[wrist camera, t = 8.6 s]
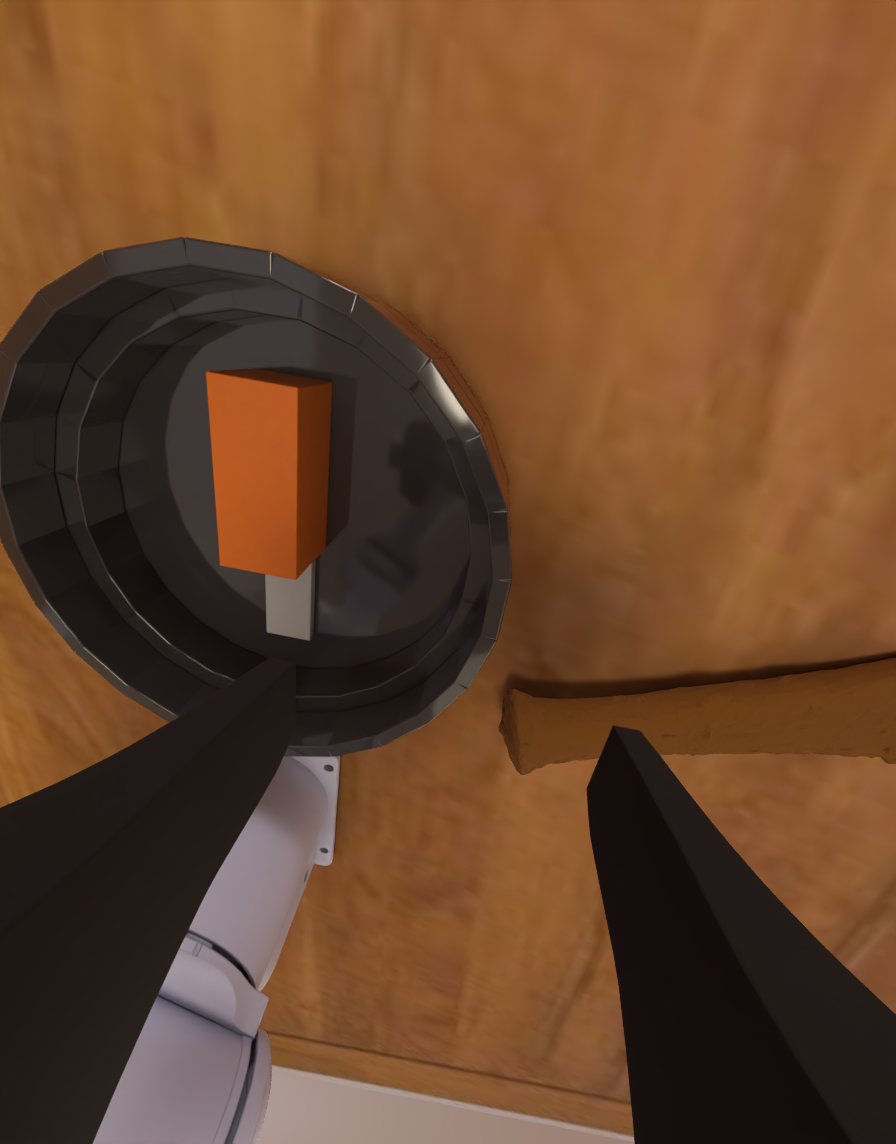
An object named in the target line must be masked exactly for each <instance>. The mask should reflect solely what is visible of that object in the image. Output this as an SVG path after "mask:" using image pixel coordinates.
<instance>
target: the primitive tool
mask: <svg viewBox="0 0 896 1144" xmlns="http://www.w3.org/2000/svg"><path fill="white" fill-rule="evenodd" d="M502 711H503V716H502V720H501V723H500V725H499V731H500V732H501V734H502V735H503V736H504V741H505V744H506V746H507V748H508V752H509V757H510V759H511V761H512V762H513V764H514V766H515V768H516V770H517V772H519V773H520V774H521V775H525V774H528V773H530V772H532V771H533V770H534V769H536V768H542V767H543V766H545V765H547V764H550V763H554V764H558V763H565V762H569V761H573V760H588V759H596V758H600V755H601V753H602V750H603V748H604V746H605V743H606V741H607V738H608V736H609V733H610V731H611V729H612V726H613V725H614V726H619V727H624V728H630V729H635V730H640V731H641V732H642V733H643V734H644V736H645V737H646V738H647V739H648V741H649V742H650V743H651V744H652V746H653V747H654V748H655V750H656V751H657V752H658V754H659V755H672V754H680V755H686V754H690V755H692V756H693V755H707V754H719V753H721V754H758V753H774V754H783V753H793V754H809V753H814V754H824V755H841V756H847V757H858V756H868V757H870V758H873V757H881V758H882V759H883V760H884V761H885V762H886V763H889V764H896V658H890V659H886V660H881V661H877V662H872V663H862V664H857V665H853V666H850V667H845V668H840V669H831V670H820V671H814V672H808V673H802V674H794V675H785V676H780V677H774V678H768V679H762V680H741V681H736V682H729V683H720V684H711V685H702V686H694V687H678V688H674V689H669V690H661V691H654V692H650V693H644V694H636V695H617V696H609V697H596V698H577V699H555V698H552V699H549V698H544V697H538V698H535V697H532V696H530V695H529V694H527V693H523V692H520V691H518V690H516V689H511V690H509V691H508V693H507V696H506V698H505V699H504V701H503V709H502Z"/></svg>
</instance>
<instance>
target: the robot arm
mask: <svg viewBox="0 0 896 1144" xmlns="http://www.w3.org/2000/svg"><path fill="white" fill-rule="evenodd" d="M295 694H296V663H294V662H289V661H284V660H279V659H274V658H269V659H267V660H265V661H264V662H262V663H261V664H259V665H258V666H256V667H255V668H253V669H252V670H250V671H249V672H247V673H246V674H244V675H243V676H241V677H240V678H238V679H237V680H235V681H234V682H232V683H231V684H229V685H228V686H226V687H225V688H223V689H222V690H220V691H219V692H217V693H216V694H214V695H213V696H211V697H209V698H208V699H206V700H205V701H203V702H202V703H200V704H199V705H197V706H195V707H194V708H192V709H191V710H189V711H188V712H186V713H185V714H183V715H181V716H180V717H178V718H177V719H175V720H173V721H171V722H170V723H168V724H166V725H165V726H163V727H161V728H160V729H158V730H156V731H155V732H153V733H151V734H149V735H148V736H146V737H144V738H143V739H141V740H139V741H138V742H136V743H134V744H132V745H130V746H129V747H127V748H125V749H123V750H121V751H119V752H118V753H116V754H114V755H112V756H110V757H108V758H106V759H104V760H102V761H100V762H98V763H96V764H94V765H92V766H90V767H88V768H86V769H84V770H82V771H81V772H79V773H77V774H75V775H73V776H70V777H68V778H66V779H64V780H62V781H60V782H58V783H56V784H54V785H51V786H49V787H47V788H44V789H42V790H40V791H38V792H35V793H33V794H31V795H29V796H26V797H24V798H22V799H20V800H17V801H15V802H13V803H11V804H8V805H6V806H4V807H2V808H0V1144H257V1142H258V1139H259V1135H260V1132H261V1129H262V1124H263V1121H264V1117H265V1113H266V1109H267V1104H268V1099H269V1094H270V1087H271V1076H272V1067H271V1059H270V1052H271V1047H270V1041H269V1036H268V1035H267V1033H266V1032H265V1031H264V1030H262V1029H260V1028H258V1027H259V1025H260V1022H261V1019H262V1016H263V1014H264V1011H265V1008H266V1006H267V1003H268V1000H269V998H268V996H266V995H264V994H263V993H261V990H262V989H263V988H264V986H265V985H266V983H267V982H268V980H269V978H270V976H271V975H272V972H273V970H274V968H275V966H276V963H277V961H278V958H279V955H280V953H281V950H282V947H283V945H284V942H285V939H286V937H287V934H288V931H289V929H290V926H291V923H292V921H293V918H294V915H295V913H296V910H297V908H298V905H299V902H300V900H301V897H302V894H303V892H304V889H305V886H306V884H307V881H308V878H309V876H310V873H311V870H312V868H313V865H314V864H319V865H324V866H327V865H330V864H331V863H332V860H333V857H334V842H335V828H336V814H337V799H338V785H339V771H340V755H339V756H334V757H291V756H284V755H285V753H286V750H287V748H288V746H289V743H290V741H291V739H292V736H293V734H294V732H295ZM330 765H331V766H330ZM587 801H588V816H589V827H590V837H591V843H592V848H593V853H594V859H595V864H596V869H597V874H598V879H599V884H600V889H601V894H602V899H603V904H604V909H605V914H606V919H607V924H608V929H609V934H610V939H611V944H612V949H613V954H614V960H615V966H616V972H617V978H618V984H619V992H620V1001H621V1010H622V1019H623V1027H624V1036H625V1045H626V1054H627V1065H628V1075H629V1085H630V1096H631V1106H632V1116H633V1128H634V1141H635V1144H896V1014H894V1013H893V1012H892V1011H891V1010H890V1009H889V1008H888V1007H887V1006H886V1005H885V1004H884V1003H883V1002H882V1001H881V1000H879V999H878V998H877V997H876V996H875V995H874V994H873V993H872V992H871V991H870V990H869V989H868V988H867V987H866V986H865V985H864V984H863V983H861V982H860V981H859V980H858V979H857V978H856V977H855V976H854V975H853V974H852V973H851V972H850V971H849V970H848V969H847V968H846V967H845V966H843V965H842V964H841V963H840V962H839V961H838V960H837V959H836V958H835V957H834V956H833V955H832V954H831V953H830V952H829V951H828V950H827V949H826V948H825V947H824V946H823V945H822V944H821V943H820V942H819V941H818V940H817V939H816V938H815V937H814V936H813V935H812V934H811V933H810V932H809V930H808V929H807V928H806V927H805V926H804V925H803V924H802V923H801V922H800V921H799V920H798V919H797V918H796V917H795V916H794V915H793V914H792V913H791V912H790V911H789V910H788V909H787V908H786V907H785V906H784V905H783V903H782V902H781V901H780V900H779V899H778V898H777V897H776V896H775V895H774V894H773V893H772V892H771V891H770V889H769V888H768V887H767V886H766V885H765V884H764V883H763V882H762V881H761V880H760V878H759V877H758V876H757V875H756V874H755V873H754V872H753V870H752V869H751V868H750V867H749V866H748V865H747V864H746V862H745V861H744V860H743V859H742V858H741V857H740V855H739V854H738V853H737V852H736V851H735V850H734V849H733V847H732V846H731V845H730V844H729V843H728V841H727V840H726V839H725V838H724V837H723V835H722V834H721V833H720V832H719V831H718V829H717V828H716V827H715V826H714V824H713V823H712V822H711V821H710V820H709V818H708V817H707V816H706V815H705V813H704V812H703V811H702V810H701V808H700V807H699V806H698V805H697V803H696V802H695V801H694V799H693V798H692V797H691V796H690V794H689V793H688V792H687V790H686V789H685V788H684V787H683V785H682V784H681V783H680V781H679V780H678V779H677V777H676V776H675V775H674V773H673V772H672V771H671V770H670V768H669V767H668V766H667V764H666V763H665V762H664V760H663V759H662V758H661V756H660V755H659V754H658V752H657V751H656V750H655V748H654V747H653V746H652V744H651V743H650V742H649V741H648V739H647V738H646V737H645V736H644V734H643V733H642V732H641V731H640V730H635V729H630V728H624V727H619V726H614V725H613V726H612V729H611V731H610V733H609V736H608V738H607V741H606V743H605V746H604V748H603V750H602V753H601V755H600V758H599V760H598V762H597V765H596V767H595V770H594V772H593V775H592V777H591V779H590V782H589V784H588V787H587Z"/></svg>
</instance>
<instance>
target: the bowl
mask: <svg viewBox="0 0 896 1144" xmlns="http://www.w3.org/2000/svg"><path fill="white" fill-rule="evenodd" d="M253 368H257V369H263V370H268V371H274V372H280V373H285V374H291V375H297V376H302V377H308V378H314V379H319V380H325V381H331V382H332V401H331V427H330V452H329V478H328V504H327V529H326V548H325V549H324V550H323V552H322V553H321V554H320V555H319V556H318V557H317V558H316V570H315V604H314V635H313V637H312V638H311V640H309V641H308V640H303V639H298V638H293V637H288V636H283V635H278V634H273V633H268V632H267V625H266V586H265V574H262V573H256V572H251V571H246V570H241V569H236V568H230V567H225V566H221V565H220V559H219V545H218V531H217V518H216V504H215V490H214V477H213V463H212V449H211V436H210V422H209V408H208V395H207V381H206V372H207V371H219V370H236V369H253ZM0 539H1V542H2V544H4V545H3V547H4V549H5V551H6V552H7V554H8V556H9V558H10V560H11V562H12V563H13V565H14V567H15V569H16V571H17V572H18V574H19V576H20V578H21V580H22V582H23V583H24V585H25V587H26V589H27V591H28V593H29V594H30V596H31V598H32V600H33V601H34V602H35V605H36V606H37V607H38V608H39V609H40V611H41V612H42V613H43V614H44V616H45V617H46V618H47V619H48V620H49V622H50V623H51V624H52V625H53V627H54V628H55V629H56V630H57V631H58V633H59V634H60V635H61V636H62V638H63V639H64V640H65V641H66V642H67V644H68V645H69V646H70V647H71V649H72V650H73V651H76V654H77V655H79V656H80V657H81V658H82V659H83V660H84V661H85V662H87V663H88V664H89V665H90V666H91V667H92V668H94V669H95V670H96V671H97V672H98V673H99V674H100V675H102V676H103V677H104V678H105V679H106V680H107V681H109V682H110V683H111V684H112V685H113V686H114V687H115V688H117V689H118V690H119V691H120V692H122V694H124V695H126V696H127V697H129V698H131V699H132V700H134V701H135V702H137V703H139V704H140V705H142V706H144V707H145V708H147V709H149V710H150V711H152V712H153V713H155V714H157V715H158V716H160V717H162V718H163V719H165V720H167V721H168V722H171V721H173V720H175V719H177V718H178V717H180V716H181V715H183V714H185V713H186V712H188V711H189V710H191V709H192V708H194V707H195V706H197V705H199V704H200V703H202V702H203V701H205V700H206V699H208V698H209V697H211V696H213V695H214V694H216V693H217V692H219V691H220V690H222V689H223V688H225V687H226V686H228V685H229V684H231V683H232V682H234V681H235V680H237V679H238V678H240V677H241V676H243V675H244V674H246V673H247V672H249V671H250V670H252V669H253V668H255V667H256V666H258V665H259V664H261V663H262V662H264V661H265V660H267V659H269V658H274V659H279V660H284V661H289V662H294V663H296V694H295V732H294V734H293V736H292V739H291V741H290V743H289V746H288V748H287V750H286V753H285V755H284V756H291V757H334V756H339V755H344V754H349V753H354V752H358V751H363V750H368V749H373V748H377V747H382V746H384V745H386V744H388V743H390V742H392V741H394V740H396V739H398V738H401V737H403V736H405V735H407V734H409V733H411V732H413V731H415V730H417V729H419V728H421V727H423V726H425V725H427V724H428V723H430V722H431V721H432V720H433V719H435V718H436V717H437V716H438V715H439V714H440V713H441V712H442V711H444V710H445V709H446V708H447V707H448V706H449V705H450V704H451V703H452V702H454V701H455V700H456V699H457V698H458V697H459V696H460V695H461V694H463V693H464V692H465V691H466V690H467V688H469V687H470V685H471V683H472V682H473V680H474V678H475V677H476V675H477V673H478V672H479V670H480V668H481V667H482V665H483V663H484V662H485V660H486V658H487V657H488V655H489V653H490V652H491V650H492V648H493V647H494V645H495V643H496V642H497V639H498V636H499V631H500V627H501V623H502V619H503V615H504V611H505V607H506V603H507V598H508V594H509V590H510V586H511V582H512V559H511V526H510V508H509V490H508V478H507V473H506V470H505V467H504V464H503V461H502V458H501V455H500V452H499V449H498V446H497V443H496V440H495V437H494V434H493V431H492V428H491V425H490V422H489V419H488V417H487V416H486V413H485V411H484V410H483V408H482V407H481V405H480V404H479V402H478V401H477V399H476V398H475V396H474V395H473V393H472V392H471V390H470V389H469V387H468V385H467V384H466V382H465V381H464V379H463V378H462V376H461V375H460V373H459V372H458V370H457V369H456V367H455V366H454V364H453V363H452V361H451V360H450V359H449V358H448V356H447V355H446V354H445V353H444V352H443V351H442V350H441V349H439V348H438V347H437V346H436V345H435V344H434V343H433V342H432V341H430V340H429V339H428V338H427V337H426V336H425V335H424V334H423V333H422V332H420V331H419V330H418V329H417V328H416V327H415V326H414V325H413V324H411V323H410V322H409V321H408V320H407V319H406V318H405V317H404V316H402V315H401V314H400V313H399V312H398V311H397V310H396V309H393V308H392V307H391V306H389V305H387V304H385V303H383V302H381V301H379V300H377V299H375V298H373V297H371V296H369V295H367V294H365V293H363V292H360V291H358V290H356V289H354V288H352V287H350V286H348V285H346V284H344V283H342V282H340V281H338V280H336V279H334V278H332V277H330V276H328V275H325V274H323V273H321V272H319V271H316V270H314V269H312V268H309V267H307V266H305V265H303V264H300V263H298V262H296V261H294V260H291V259H289V258H287V257H284V256H282V255H280V254H278V253H274V252H272V251H266V250H260V249H254V248H248V247H242V246H236V245H230V244H224V243H218V242H212V241H206V240H200V239H194V238H188V237H187V238H183V237H179V238H173V239H168V240H162V241H156V242H151V243H145V244H139V245H133V246H128V247H122V248H116V249H110V250H105V251H103V252H100V253H99V254H97V255H95V256H94V257H92V258H91V259H89V260H87V261H86V262H84V263H83V264H81V265H79V266H78V267H76V268H74V269H73V270H71V271H70V272H68V273H66V274H65V275H63V276H61V277H60V278H58V279H57V280H55V281H53V282H52V283H50V284H49V285H47V286H45V287H44V288H42V289H40V291H39V292H37V293H36V295H35V296H34V297H33V299H32V300H31V302H30V303H29V304H28V306H27V307H26V308H25V310H24V311H23V313H22V314H21V315H20V317H19V318H18V320H17V321H16V322H15V324H14V325H13V327H12V328H11V329H10V331H9V332H8V333H7V335H6V336H5V338H4V339H3V340H2V342H1V343H0Z"/></svg>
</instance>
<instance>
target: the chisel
mask: <svg viewBox="0 0 896 1144" xmlns="http://www.w3.org/2000/svg"><path fill="white" fill-rule="evenodd" d="M206 381H207V395H208V408H209V422H210V436H211V449H212V463H213V477H214V490H215V504H216V518H217V531H218V545H219V559H220V565H221V566H225V567H230V568H236V569H241V570H246V571H251V572H256V573H262V574H265V586H266V625H267V632H268V633H273V634H278V635H283V636H288V637H293V638H298V639H303V640H308V641H309V640H311V638H312V637H313V635H314V604H315V570H316V558H317V557H318V556H319V555H320V554H321V553H322V552H323V550H324V549H325V548H326V529H327V504H328V478H329V452H330V427H331V401H332V382H331V381H325V380H319V379H314V378H308V377H302V376H297V375H291V374H285V373H280V372H274V371H268V370H263V369H257V368H253V369H236V370H219V371H207V372H206Z"/></svg>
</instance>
